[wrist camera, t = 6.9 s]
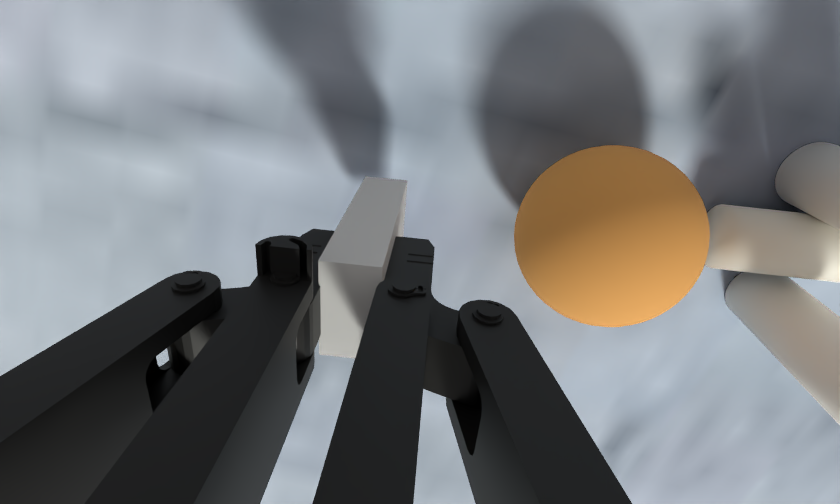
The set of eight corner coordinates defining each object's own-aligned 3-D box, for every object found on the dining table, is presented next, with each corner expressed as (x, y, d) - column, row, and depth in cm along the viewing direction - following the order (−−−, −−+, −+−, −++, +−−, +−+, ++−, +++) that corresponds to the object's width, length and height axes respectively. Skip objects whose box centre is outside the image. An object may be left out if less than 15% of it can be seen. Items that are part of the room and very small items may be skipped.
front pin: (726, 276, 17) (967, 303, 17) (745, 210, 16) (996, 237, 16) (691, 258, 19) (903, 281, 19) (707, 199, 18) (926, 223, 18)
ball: (722, 367, 14) (631, 285, 20) (789, 169, 12) (666, 140, 18) (526, 360, 14) (490, 278, 20) (561, 155, 12) (509, 130, 17)
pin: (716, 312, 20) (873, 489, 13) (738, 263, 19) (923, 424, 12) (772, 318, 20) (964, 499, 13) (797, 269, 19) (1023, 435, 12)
